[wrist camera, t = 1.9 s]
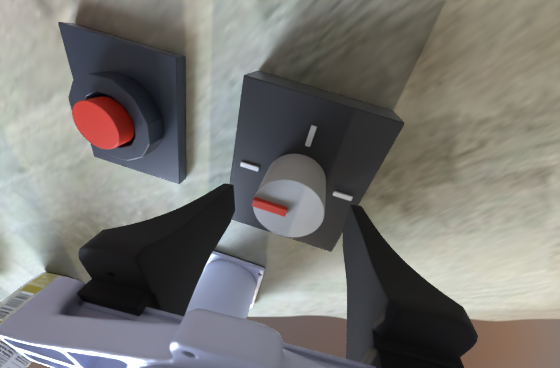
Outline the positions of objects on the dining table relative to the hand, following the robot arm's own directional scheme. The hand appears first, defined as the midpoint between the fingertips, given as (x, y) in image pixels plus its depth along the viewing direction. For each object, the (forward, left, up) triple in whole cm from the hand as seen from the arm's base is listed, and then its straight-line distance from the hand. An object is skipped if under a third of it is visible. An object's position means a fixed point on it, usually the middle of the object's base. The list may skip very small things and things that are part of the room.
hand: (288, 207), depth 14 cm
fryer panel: (0, 0, -6) cm, 6 cm away
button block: (0, +15, -6) cm, 16 cm away
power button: (0, +15, -4) cm, 15 cm away
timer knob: (0, 0, -3) cm, 3 cm away
